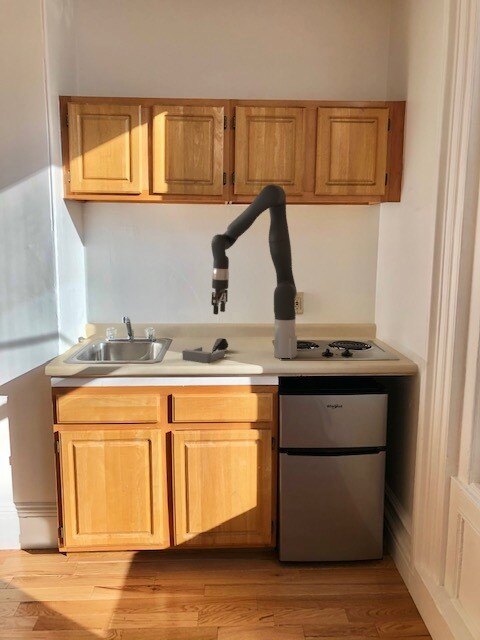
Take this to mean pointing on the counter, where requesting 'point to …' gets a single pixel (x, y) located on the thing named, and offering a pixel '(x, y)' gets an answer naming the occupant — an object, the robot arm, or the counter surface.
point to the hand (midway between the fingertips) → (219, 313)
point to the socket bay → (202, 355)
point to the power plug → (220, 345)
